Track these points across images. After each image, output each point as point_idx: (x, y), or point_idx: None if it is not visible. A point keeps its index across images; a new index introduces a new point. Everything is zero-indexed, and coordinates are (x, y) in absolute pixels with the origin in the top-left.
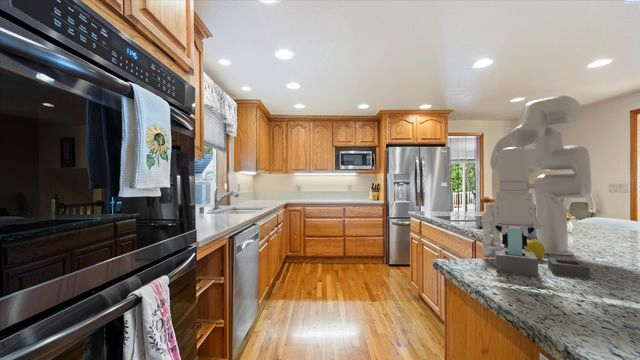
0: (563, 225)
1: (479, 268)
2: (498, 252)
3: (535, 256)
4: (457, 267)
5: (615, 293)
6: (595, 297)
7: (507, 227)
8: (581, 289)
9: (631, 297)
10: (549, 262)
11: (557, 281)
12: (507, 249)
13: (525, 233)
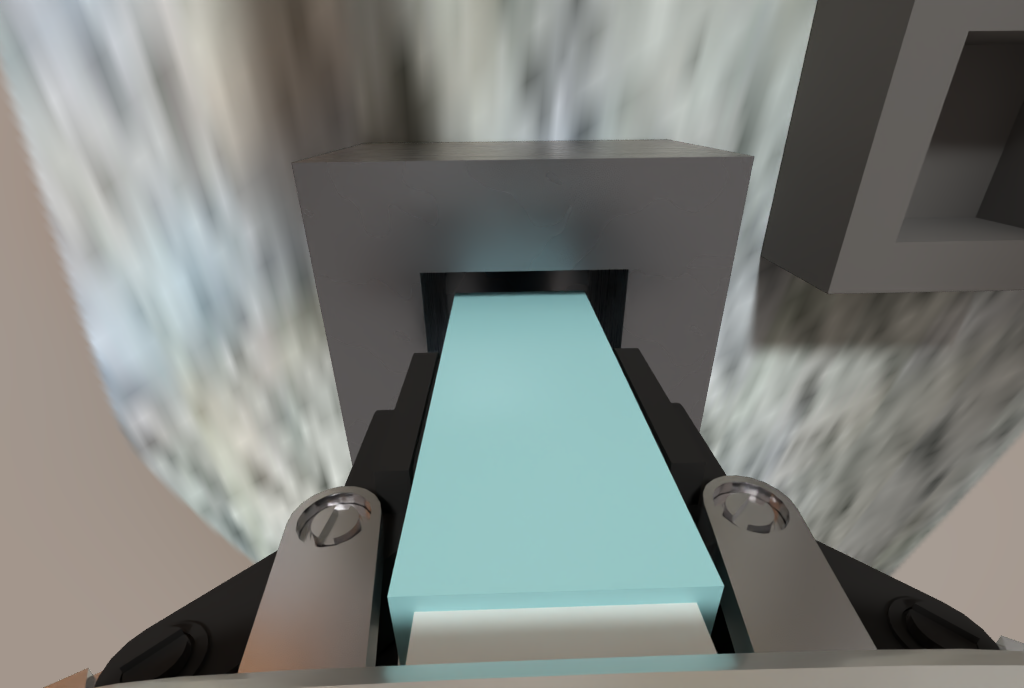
0: None
1: (257, 279)
2: (366, 396)
3: (700, 400)
4: (110, 342)
5: (963, 422)
6: (815, 523)
7: (404, 644)
8: (816, 438)
9: (998, 448)
10: (859, 111)
11: (750, 346)
12: (448, 328)
13: (715, 641)
